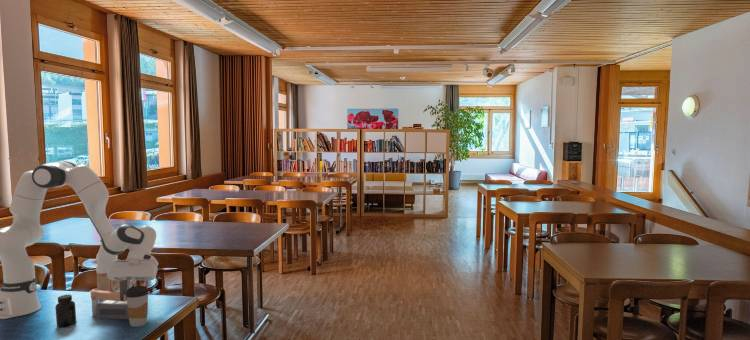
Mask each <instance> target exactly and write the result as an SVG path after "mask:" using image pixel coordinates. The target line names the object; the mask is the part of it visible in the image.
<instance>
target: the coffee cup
mask: <svg viewBox="0 0 750 340" xmlns="http://www.w3.org/2000/svg"><path fill="white" fill-rule="evenodd" d="M126 297H127V307H128V315H129V319H128V320H129V321H128V322H129V325H130V327H133V328H138V327H142V326H145V325H146V324H147V322H148V311H149V307H148V306H149V302H148V301H149V300H148V299H149V289H148V286H146V285H136V286H132V287H131V288H129V289H127V292H126Z"/></svg>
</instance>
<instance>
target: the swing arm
mask: <svg viewBox="0 0 750 340" xmlns="http://www.w3.org/2000/svg"><path fill="white" fill-rule="evenodd" d="M128 284H129V283H128V282H127V280H119V289H120V292H112V291H102V290H99V291H98V290H97V289H93V290H90V299H91V300H92V299H98V300H102V301H104V300H111V301H121V302H126V301H127V297H126V292H127V289H128Z"/></svg>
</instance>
